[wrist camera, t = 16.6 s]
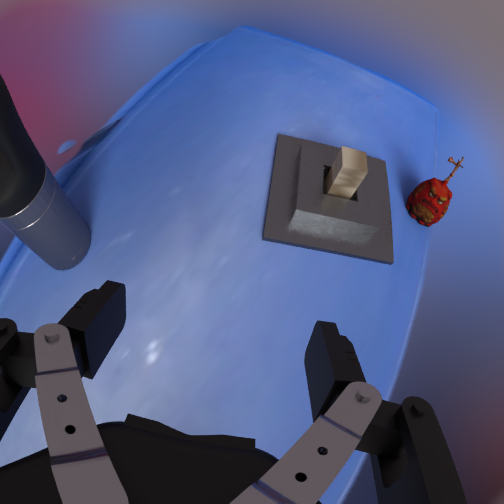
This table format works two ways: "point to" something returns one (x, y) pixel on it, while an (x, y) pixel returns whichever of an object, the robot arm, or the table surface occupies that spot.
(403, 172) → the table surface
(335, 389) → the robot arm
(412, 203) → the red clay folk toy
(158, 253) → the table surface
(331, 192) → the maple block
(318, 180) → the socket plate
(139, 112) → the table surface
